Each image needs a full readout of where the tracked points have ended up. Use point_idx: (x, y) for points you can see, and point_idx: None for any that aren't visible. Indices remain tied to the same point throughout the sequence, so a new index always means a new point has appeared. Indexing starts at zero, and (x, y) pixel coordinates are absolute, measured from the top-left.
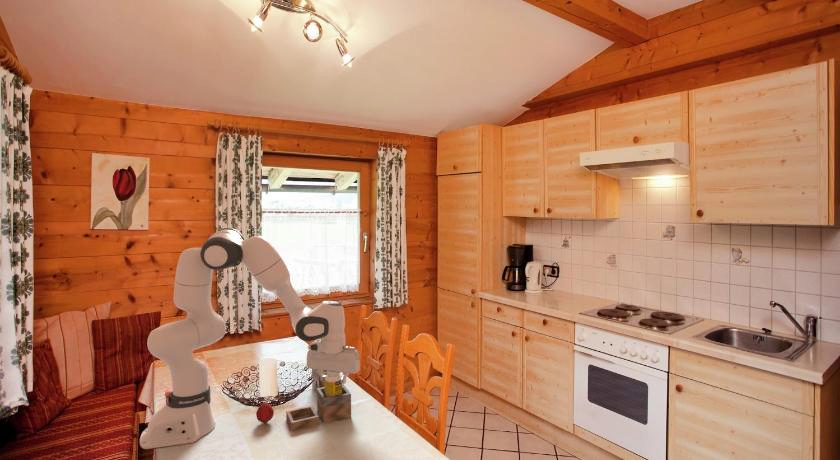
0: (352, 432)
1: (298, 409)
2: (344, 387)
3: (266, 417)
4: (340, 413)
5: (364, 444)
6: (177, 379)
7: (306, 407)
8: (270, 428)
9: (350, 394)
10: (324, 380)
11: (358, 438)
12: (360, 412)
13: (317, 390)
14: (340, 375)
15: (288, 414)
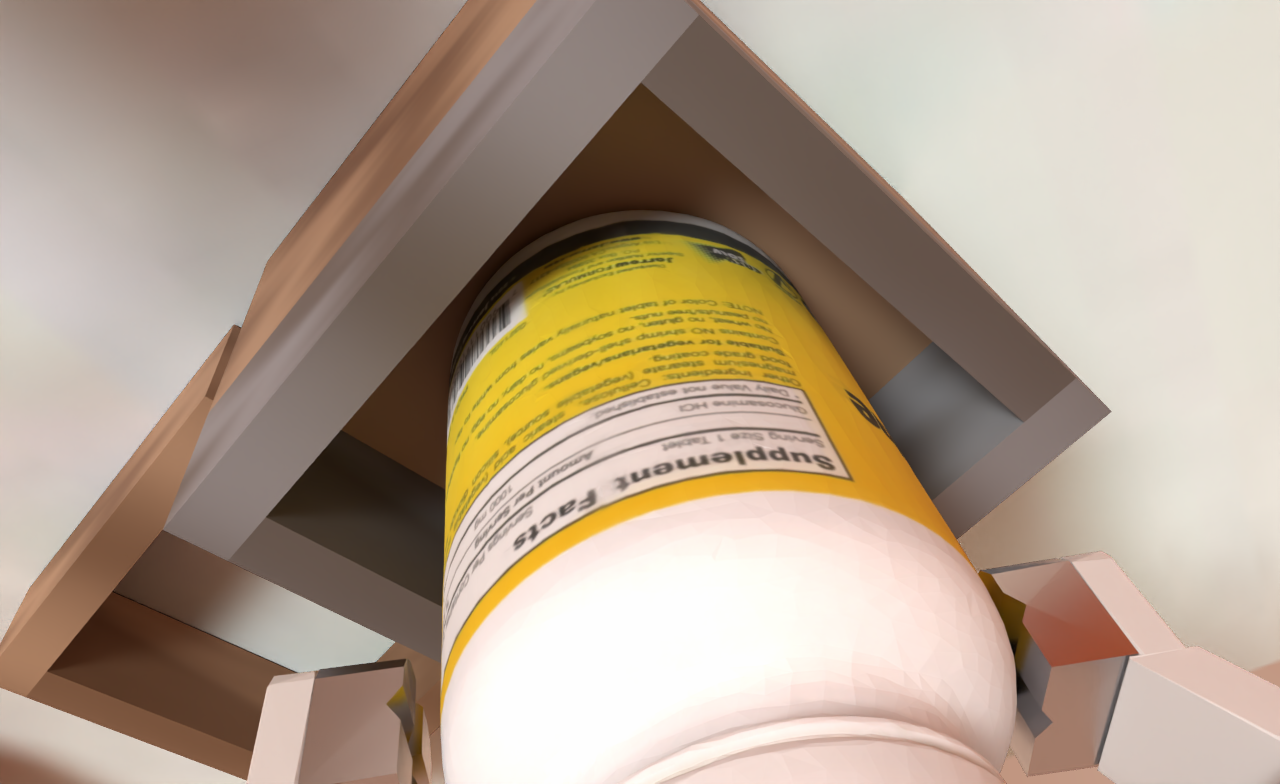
0: (1042, 482)
1: (112, 581)
2: (830, 196)
3: None
4: None
5: (1224, 591)
6: None
7: (175, 490)
8: (71, 780)
9: (1094, 412)
10: (429, 746)
11: (1140, 541)
12: None
13: (244, 556)
14: (983, 696)
15: (114, 722)
